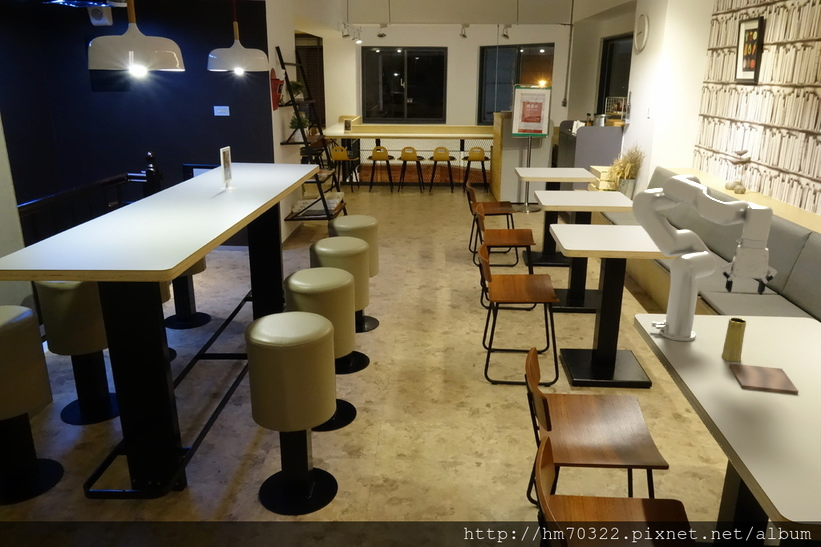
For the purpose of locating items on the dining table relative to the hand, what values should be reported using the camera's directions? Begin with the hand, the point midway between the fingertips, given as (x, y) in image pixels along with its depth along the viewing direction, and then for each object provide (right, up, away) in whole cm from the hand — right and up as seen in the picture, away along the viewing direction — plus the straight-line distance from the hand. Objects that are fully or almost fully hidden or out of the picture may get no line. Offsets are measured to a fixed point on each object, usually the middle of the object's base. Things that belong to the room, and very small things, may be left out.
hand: (744, 292), depth 211 cm
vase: (-1, -23, +8) cm, 25 cm away
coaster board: (+2, -28, -8) cm, 29 cm away
